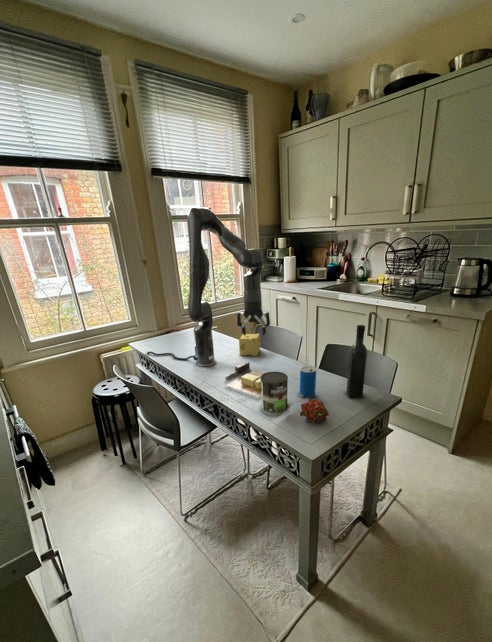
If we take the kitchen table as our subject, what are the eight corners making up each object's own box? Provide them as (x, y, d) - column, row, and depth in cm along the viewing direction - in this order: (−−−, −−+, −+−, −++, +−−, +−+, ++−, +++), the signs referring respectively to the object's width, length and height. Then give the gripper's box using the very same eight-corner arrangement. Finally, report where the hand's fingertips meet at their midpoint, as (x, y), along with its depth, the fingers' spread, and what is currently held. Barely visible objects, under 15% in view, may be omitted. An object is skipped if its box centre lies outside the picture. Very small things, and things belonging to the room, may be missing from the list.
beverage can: (311, 400, 130) (312, 373, 125) (297, 396, 133) (297, 370, 128) (317, 393, 135) (318, 367, 130) (303, 390, 138) (304, 365, 133)
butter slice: (255, 387, 139) (255, 381, 138) (261, 383, 142) (261, 377, 141) (258, 388, 138) (258, 382, 137) (265, 384, 141) (265, 378, 140)
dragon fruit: (325, 432, 112) (302, 421, 122) (337, 412, 114) (313, 404, 124) (314, 420, 107) (290, 410, 117) (327, 399, 110) (302, 391, 119)
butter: (241, 382, 144) (240, 376, 143) (247, 379, 147) (247, 373, 146) (253, 386, 140) (252, 380, 138) (259, 382, 143) (259, 376, 142)
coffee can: (292, 411, 122) (292, 379, 117) (268, 418, 119) (267, 385, 113) (280, 399, 131) (279, 369, 125) (257, 406, 127) (256, 374, 122)
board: (226, 388, 143) (226, 385, 142) (254, 372, 157) (254, 369, 156) (257, 399, 132) (257, 396, 132) (284, 381, 146) (284, 378, 146)
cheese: (257, 356, 176) (256, 339, 172) (238, 355, 178) (237, 338, 174) (260, 349, 185) (260, 333, 181) (242, 349, 188) (242, 333, 183)
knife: (224, 382, 149) (223, 372, 147) (246, 370, 160) (245, 361, 158) (228, 383, 147) (227, 373, 145) (249, 371, 158) (249, 362, 156)
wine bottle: (345, 391, 135) (351, 323, 123) (359, 391, 135) (366, 323, 122) (349, 398, 130) (355, 328, 117) (363, 398, 129) (371, 327, 117)
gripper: (270, 296, 137) (270, 332, 144) (237, 297, 139) (239, 332, 146) (268, 300, 131) (269, 337, 137) (234, 300, 133) (237, 337, 139)
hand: (254, 334), depth 142 cm, fingers open, 8 cm apart
